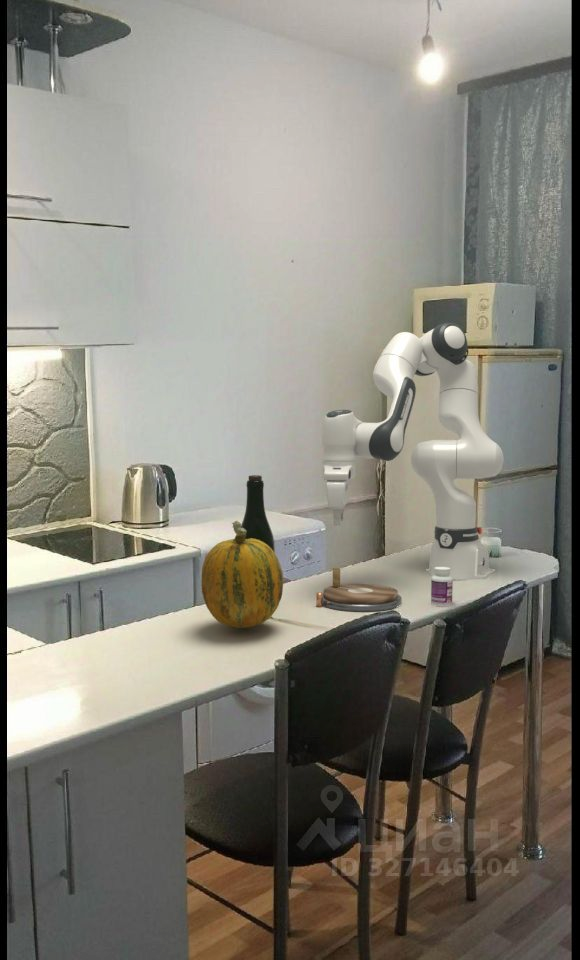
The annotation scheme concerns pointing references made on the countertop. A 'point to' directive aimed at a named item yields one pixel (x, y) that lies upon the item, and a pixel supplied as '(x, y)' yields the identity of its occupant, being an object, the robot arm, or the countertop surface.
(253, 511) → the wine bottle
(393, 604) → the turntable base
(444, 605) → the pill bottle
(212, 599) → the pumpkin
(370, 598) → the turntable
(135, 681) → the countertop surface
